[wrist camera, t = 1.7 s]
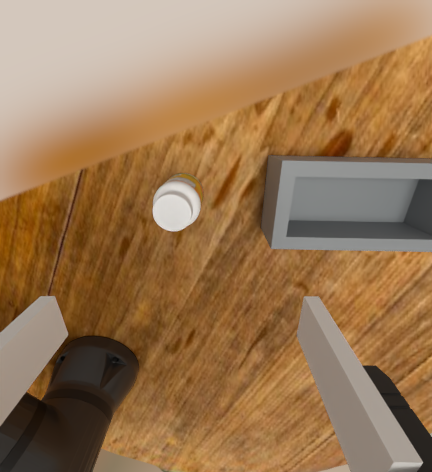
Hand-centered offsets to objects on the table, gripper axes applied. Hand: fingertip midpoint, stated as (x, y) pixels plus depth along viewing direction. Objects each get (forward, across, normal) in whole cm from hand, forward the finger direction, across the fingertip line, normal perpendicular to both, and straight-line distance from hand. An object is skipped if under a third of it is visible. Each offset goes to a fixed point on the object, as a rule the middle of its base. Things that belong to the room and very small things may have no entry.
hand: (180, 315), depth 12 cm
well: (+22, +19, +1) cm, 30 cm away
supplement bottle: (+22, -3, +2) cm, 23 cm away
